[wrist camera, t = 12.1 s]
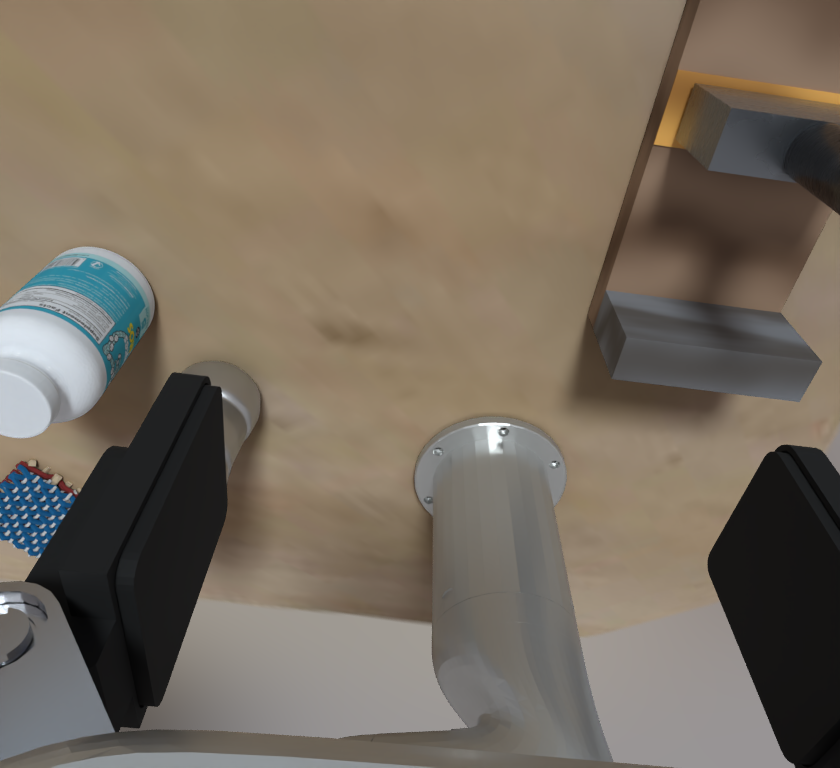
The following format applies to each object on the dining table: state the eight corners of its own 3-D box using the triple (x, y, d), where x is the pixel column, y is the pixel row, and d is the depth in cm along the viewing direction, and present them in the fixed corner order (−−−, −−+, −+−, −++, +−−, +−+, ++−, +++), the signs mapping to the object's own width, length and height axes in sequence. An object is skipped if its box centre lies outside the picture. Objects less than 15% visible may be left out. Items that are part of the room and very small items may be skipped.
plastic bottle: (179, 342, 50) (52, 554, 33) (270, 358, 50) (190, 573, 34) (179, 409, 53) (65, 630, 37) (264, 423, 54) (190, 646, 38)
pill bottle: (122, 353, 50) (33, 478, 39) (31, 288, 47) (-92, 403, 36) (180, 293, 47) (101, 409, 36) (86, 219, 44) (-30, 322, 33)
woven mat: (77, 564, 65) (68, 581, 64) (-27, 506, 61) (-40, 523, 59) (137, 513, 61) (129, 530, 59) (30, 448, 57) (18, 464, 55)
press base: (750, 335, 48) (799, 401, 42) (587, 314, 48) (611, 378, 41) (967, -110, 33) (1096, -115, 27) (734, -150, 33) (809, -165, 26)
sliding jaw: (842, 163, 39) (1041, 287, 26) (675, 139, 38) (794, 253, 25) (869, 109, 37) (1097, 213, 24) (694, 83, 36) (833, 175, 24)
